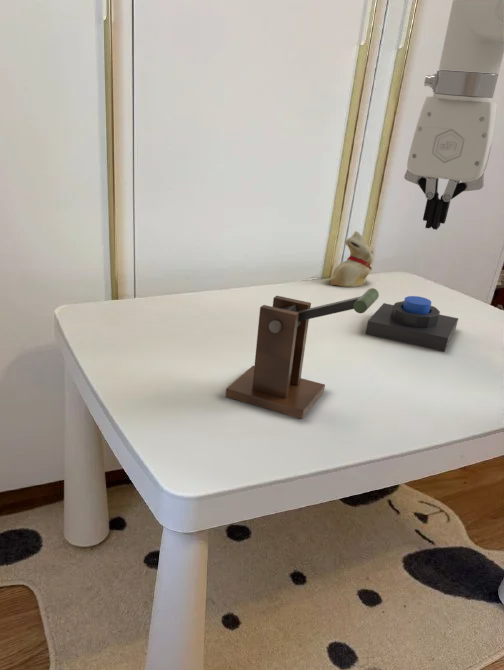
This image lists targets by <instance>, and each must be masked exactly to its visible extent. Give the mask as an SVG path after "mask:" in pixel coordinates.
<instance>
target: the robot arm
mask: <svg viewBox="0 0 504 670" xmlns="http://www.w3.org/2000/svg"><path fill="white" fill-rule="evenodd" d="M446 27H447V28H446V32H445V36H444V42H443V46H442V51H441V55H440V61H439V67H438V70H436V73H434V74H432V75H430V74H429V75H425V78H424V84H423V85H424V87H429V88H430V89H431V90H432V93H433V94H432V96H426V97H425V99H424V102H423V104H422V107H421V110H420V112H419V116H418V120H417V122H416V126H415V129H414V133H413V137H412V141H411V144H410V149H409V153H408V158H407V163H406V172H405V174H404V176H403V178H404V180H405V181H408V182H410V183H412V184H414V185H418V186H419V188H420V189H421V191H422V192H423V194H424V195H425V196H424V197H425V199H426V203H425V207H424V212H423V218H422V221H424V222H425V229H432V230H436V231H438V229H439V228H440V227H441V224H443V225H444V224H445V223H446V220H447V217H448V213H449V208H450V204H451V201H452V200H453V199H454V198H456V197H457V196H459V195H460V194H461V193H463V192H470V191H480V190H482V188H483V187H484V185H485V184H484V181H485V171H486V169H487V167H488V162H489V157H490V153H491V149H492V145H493V143H492V142H493V138H494V133H495V126H496V119H497V105H498V102H497V101H493V98H494V96H495V95H494V94H495V91H496V87H497V83H498V79H499V76H500V75H499V73H500V70H501V66H502V63H503V58H504V0H452V3H451V8H450V13H449V18H448V23H447V26H446ZM440 179H443V180H448V182H447V184H446V187H445V190H444V192H443V194H442V195H441V196H440V194H439V191H438V190H439V181H440ZM439 196H440V197H439Z"/></svg>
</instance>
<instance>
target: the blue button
mask: <svg viewBox="0 0 504 670" xmlns="http://www.w3.org/2000/svg"><path fill="white" fill-rule="evenodd" d="M403 301H404V304H403V310H405V311H408V312H411V313H416V314H428V313H429V311H430V307H431V306H432V301H431V300H430V299H428V298H426V297H422V296H418V295H417V296H416V295H409V296H405V297H404V300H403Z"/></svg>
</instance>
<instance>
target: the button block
mask: <svg viewBox="0 0 504 670" xmlns="http://www.w3.org/2000/svg"><path fill="white" fill-rule="evenodd" d="M403 304H404V300H403V301H397V302H395V303H394V304H389V303H386V302H384V303H382V304H381V305H380V307H379V308H378V309H377V310H376V311H375V313H373V314H372V316H371V317H370V318H369V319H368V320H367V323H366V327H365V335H369V336H373V337H376V338H382V339H387V340H390V341H395V342H399V343H404V344H408V345H412V346H417V347H422V348H426V349H431V350H435V351H440V352H443V353H444V352H446V350H447V348H448V346H449V344H450V342H451V340H452V338H453V337H454V334H455V332H456V330H457V326H458V322H459V318H458V317H454V316H449V315H444V314H441V311H440V310H439V309H438V308H437V307H436V306H433V305H431V307H430V311H429V313H428V314H416V313H411V312H408V311H405V310H403Z"/></svg>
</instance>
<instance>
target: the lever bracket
mask: <svg viewBox="0 0 504 670" xmlns="http://www.w3.org/2000/svg"><path fill="white" fill-rule="evenodd" d="M272 299H273V300H272V306H271V305H266V304H263V305H261V306H260V307H259V316H258V326H257V336H256V345H255V347H256V348H255V355H254V365H251V366H250V367H249V368H248V369H247V370H246V371H245V372H244V373H242V374H241V375H240V376H239V377H238V378H236V379H234V381H233V382H232V383H230V384H229V385H228V386H227V387H226V389H225V397H226V398H228V399H232V400H236V401H239V402H241V403H242V402H243V403H246V404H249V405H252V406H256V407H259V408H263V409H266V410H269V411H273V412H277V413H279V414H284V415H286V416H290V417H293V418H296V419H297V418H298V419H301V420H303V418H304V417H306V415H307V414H308V412H309V411H310V410H311V409H312V408H313V406H314V405H315V404H316V403H317V401H319V399H320V398H321V397H322V395H324V393H325V388H326V385H325V384H324V383H321V382H317V381H313V380H309V379H307V378H302V372H303V365H304V358H305V351H306V344H307V343H306V342H307V336H308V329H309V322H310V319H307V320H303V321H300V322H301V324H300V325H299V326H298V327H297V325H298V317H299V313H298V312H294V311H289V310H285V309H280V308H284V307H288V306H292V305H295V306H296V309H297V311H300V310H305V309H309V308H312V302H309V301H304V300H299V299H295V298H290V297H286V296H282V295H275V296H274V297H273V298H272Z"/></svg>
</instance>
